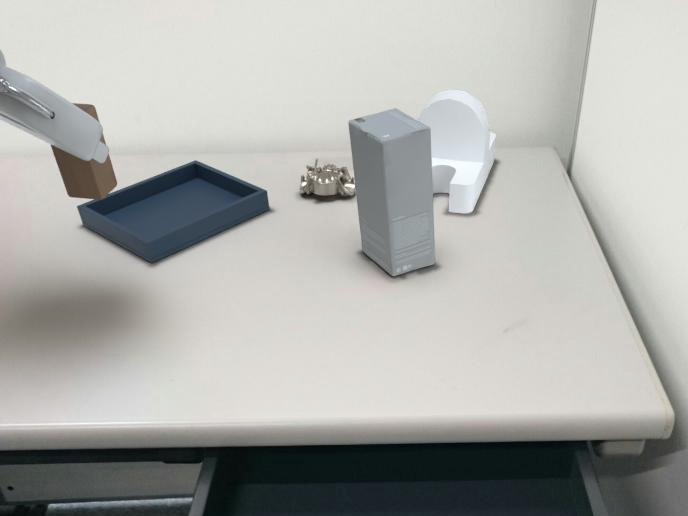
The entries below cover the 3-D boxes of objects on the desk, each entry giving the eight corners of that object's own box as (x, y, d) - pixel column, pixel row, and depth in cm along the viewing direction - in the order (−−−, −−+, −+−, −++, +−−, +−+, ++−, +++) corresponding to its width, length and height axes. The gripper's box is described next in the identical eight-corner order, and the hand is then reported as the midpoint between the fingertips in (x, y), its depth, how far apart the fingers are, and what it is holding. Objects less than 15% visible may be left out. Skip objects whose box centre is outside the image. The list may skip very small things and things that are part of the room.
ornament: (359, 182, 106) (358, 156, 103) (352, 203, 101) (350, 176, 99) (305, 180, 106) (302, 154, 104) (296, 201, 102) (292, 174, 99)
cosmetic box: (436, 265, 90) (440, 127, 78) (385, 280, 88) (382, 140, 76) (402, 237, 95) (401, 103, 83) (354, 251, 92) (345, 114, 80)
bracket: (430, 153, 113) (432, 68, 104) (495, 159, 111) (502, 74, 102) (399, 206, 101) (398, 116, 92) (471, 214, 99) (477, 123, 90)
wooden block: (85, 182, 79) (58, 100, 73) (119, 185, 78) (95, 103, 72) (67, 198, 76) (38, 115, 70) (102, 201, 76) (76, 117, 70)
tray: (83, 225, 98) (76, 205, 96) (199, 178, 107) (195, 159, 105) (152, 263, 91) (146, 243, 89) (269, 209, 100) (267, 190, 98)
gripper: (22, 46, 57) (158, 143, 69) (-93, 1, 66) (45, 93, 78) (-7, 124, 58) (131, 205, 70) (-117, 69, 67) (23, 150, 79)
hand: (85, 146), depth 74 cm, fingers closed on wooden block, 5 cm apart
